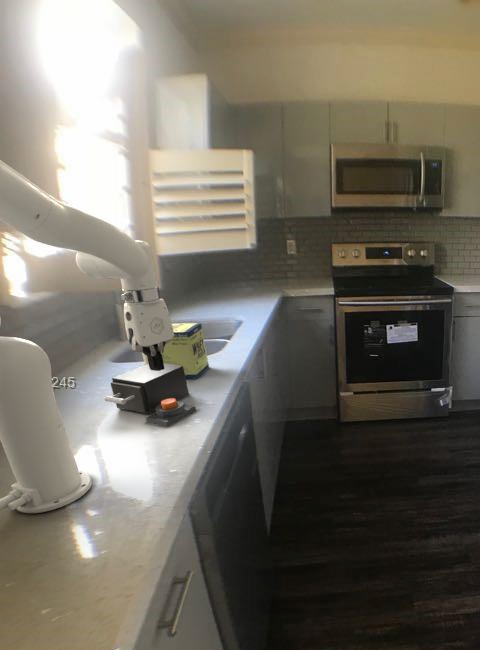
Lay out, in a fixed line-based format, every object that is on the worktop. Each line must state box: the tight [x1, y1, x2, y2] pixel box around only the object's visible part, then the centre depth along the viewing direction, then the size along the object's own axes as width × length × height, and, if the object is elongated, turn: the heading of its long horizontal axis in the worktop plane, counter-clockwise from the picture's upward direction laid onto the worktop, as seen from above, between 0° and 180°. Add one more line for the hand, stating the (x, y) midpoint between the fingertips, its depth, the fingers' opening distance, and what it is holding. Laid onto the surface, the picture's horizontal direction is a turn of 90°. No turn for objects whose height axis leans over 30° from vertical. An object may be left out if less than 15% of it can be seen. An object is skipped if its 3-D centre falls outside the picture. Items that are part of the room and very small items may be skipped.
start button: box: [161, 398, 177, 409], centre depth 119 cm, size 4×4×2 cm
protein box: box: [145, 322, 210, 380], centre depth 147 cm, size 10×16×16 cm
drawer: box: [104, 381, 149, 414], centre depth 124 cm, size 17×10×7 cm, turn 159°
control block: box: [145, 400, 197, 428], centre depth 119 cm, size 10×7×3 cm
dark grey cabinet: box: [111, 363, 190, 415], centre depth 128 cm, size 14×12×9 cm
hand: (157, 369), depth 114 cm, fingers closed
